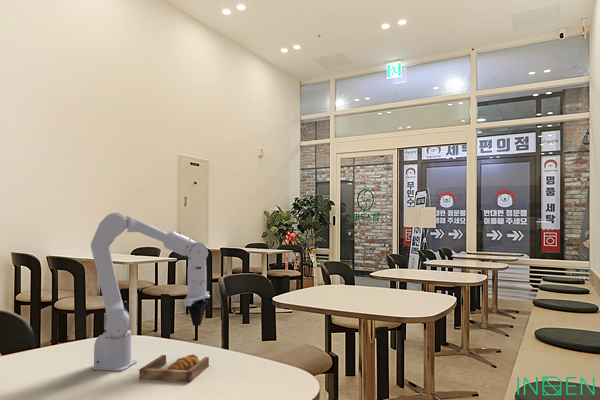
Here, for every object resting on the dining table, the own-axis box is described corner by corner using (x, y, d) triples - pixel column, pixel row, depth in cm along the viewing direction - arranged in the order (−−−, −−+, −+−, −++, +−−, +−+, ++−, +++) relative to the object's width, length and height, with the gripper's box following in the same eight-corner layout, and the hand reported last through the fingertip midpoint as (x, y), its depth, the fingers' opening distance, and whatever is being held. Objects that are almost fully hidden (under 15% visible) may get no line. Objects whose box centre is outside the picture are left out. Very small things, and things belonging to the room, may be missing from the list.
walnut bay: (139, 379, 110) (139, 369, 111) (162, 363, 122) (162, 354, 123) (190, 382, 108) (190, 372, 108) (208, 366, 120) (208, 357, 120)
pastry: (178, 380, 110) (177, 365, 110) (160, 375, 114) (160, 361, 114) (203, 369, 118) (203, 355, 119) (186, 365, 122) (186, 351, 122)
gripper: (199, 284, 122) (199, 331, 122) (217, 277, 137) (217, 320, 136) (177, 284, 124) (176, 330, 123) (197, 277, 138) (197, 319, 137)
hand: (196, 325), depth 130 cm, fingers closed
